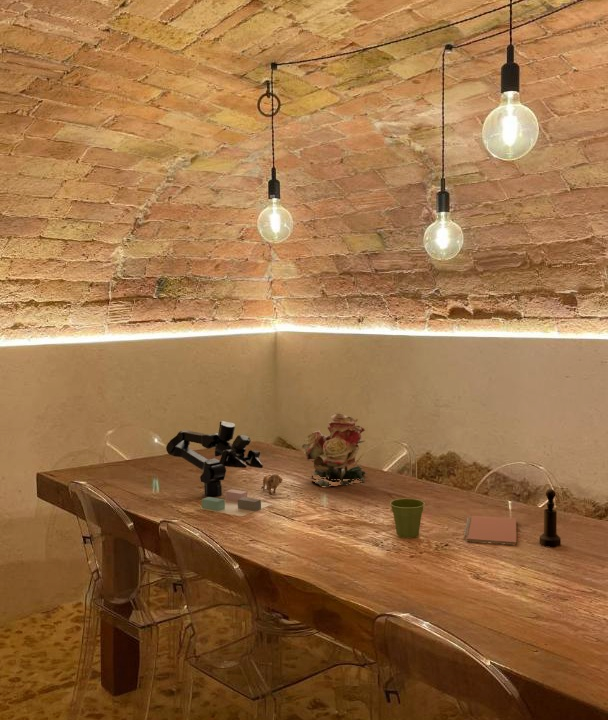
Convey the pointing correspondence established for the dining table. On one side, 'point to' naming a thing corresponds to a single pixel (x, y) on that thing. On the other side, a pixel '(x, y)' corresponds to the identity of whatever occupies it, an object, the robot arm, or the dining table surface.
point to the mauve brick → (234, 495)
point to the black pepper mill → (550, 523)
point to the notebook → (491, 529)
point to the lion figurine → (271, 482)
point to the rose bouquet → (336, 450)
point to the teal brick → (213, 503)
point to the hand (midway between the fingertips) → (254, 466)
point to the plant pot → (407, 516)
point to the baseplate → (235, 510)
